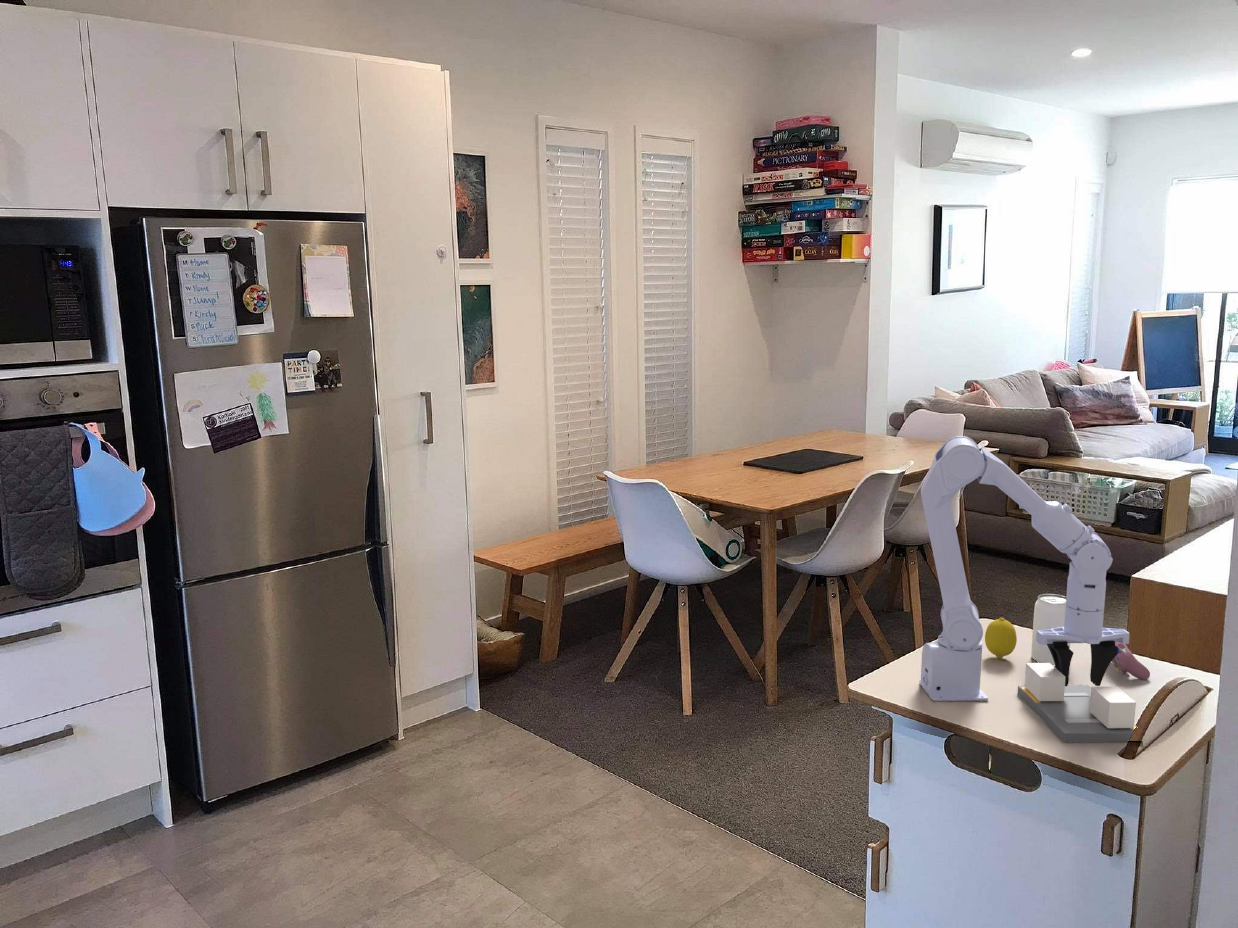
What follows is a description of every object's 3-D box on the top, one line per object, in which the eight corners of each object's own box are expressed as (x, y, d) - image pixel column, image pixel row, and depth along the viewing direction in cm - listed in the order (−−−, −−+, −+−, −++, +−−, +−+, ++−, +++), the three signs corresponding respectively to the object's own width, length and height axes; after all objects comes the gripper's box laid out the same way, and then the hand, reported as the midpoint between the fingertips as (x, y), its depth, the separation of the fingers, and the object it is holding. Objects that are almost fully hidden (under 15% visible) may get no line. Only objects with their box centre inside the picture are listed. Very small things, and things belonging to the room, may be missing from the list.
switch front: (1107, 728, 151) (1110, 702, 150) (1089, 711, 156) (1091, 686, 156) (1133, 727, 151) (1136, 702, 150) (1114, 711, 156) (1116, 686, 156)
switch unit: (1064, 742, 150) (1065, 732, 150) (1017, 693, 168) (1018, 684, 167) (1142, 741, 150) (1143, 731, 150) (1087, 693, 168) (1088, 684, 167)
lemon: (1019, 663, 181) (1022, 622, 179) (989, 664, 181) (992, 623, 179) (1008, 652, 186) (1011, 612, 185) (979, 652, 186) (981, 612, 185)
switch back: (1039, 701, 160) (1041, 677, 160) (1024, 686, 166) (1026, 663, 166) (1063, 700, 160) (1065, 676, 160) (1048, 686, 166) (1049, 662, 166)
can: (1072, 667, 179) (1077, 605, 176) (1034, 665, 180) (1039, 603, 178) (1063, 654, 185) (1068, 593, 183) (1027, 652, 186) (1031, 592, 184)
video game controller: (1106, 667, 183) (1091, 635, 182) (1130, 657, 182) (1115, 625, 181) (1128, 689, 173) (1113, 655, 172) (1153, 678, 172) (1138, 644, 171)
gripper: (1051, 614, 157) (1045, 694, 159) (1141, 613, 157) (1134, 693, 159) (1033, 600, 164) (1028, 677, 166) (1119, 599, 163) (1113, 675, 166)
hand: (1079, 683), depth 163 cm, fingers open, 5 cm apart
